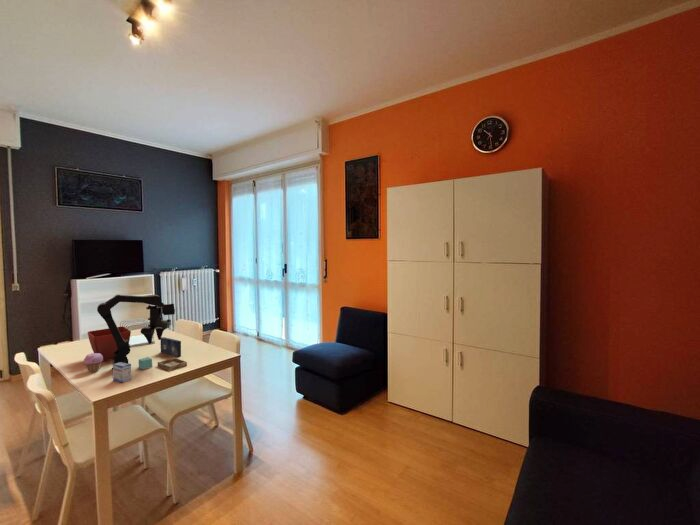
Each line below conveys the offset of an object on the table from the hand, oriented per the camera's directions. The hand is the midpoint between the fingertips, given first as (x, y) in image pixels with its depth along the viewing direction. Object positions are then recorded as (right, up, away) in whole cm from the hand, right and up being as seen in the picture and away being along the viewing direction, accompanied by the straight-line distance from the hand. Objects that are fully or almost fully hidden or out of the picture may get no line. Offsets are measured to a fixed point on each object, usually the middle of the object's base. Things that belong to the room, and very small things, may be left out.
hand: (154, 341), depth 202 cm
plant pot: (-34, -12, +9) cm, 37 cm away
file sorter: (-39, -11, +44) cm, 60 cm away
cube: (-1, -13, -8) cm, 15 cm away
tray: (+13, -13, -6) cm, 19 cm away
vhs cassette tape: (+1, -12, +16) cm, 20 cm away
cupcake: (-26, -13, -14) cm, 33 cm away
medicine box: (-1, -14, -27) cm, 30 cm away
